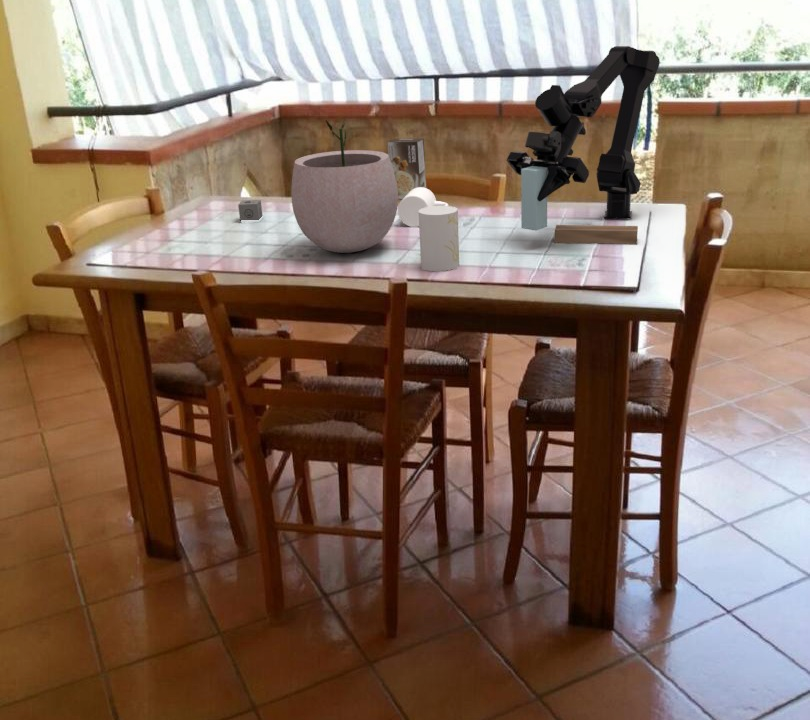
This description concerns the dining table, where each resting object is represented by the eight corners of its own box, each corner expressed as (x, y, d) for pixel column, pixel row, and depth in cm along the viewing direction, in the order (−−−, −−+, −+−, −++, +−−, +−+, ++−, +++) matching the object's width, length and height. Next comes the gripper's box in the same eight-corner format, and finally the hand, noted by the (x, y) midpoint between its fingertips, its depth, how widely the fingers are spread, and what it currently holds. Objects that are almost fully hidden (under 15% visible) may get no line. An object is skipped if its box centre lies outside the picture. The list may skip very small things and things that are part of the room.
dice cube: (244, 218, 236) (242, 200, 234) (262, 218, 236) (260, 199, 234) (240, 223, 231) (238, 204, 229) (259, 222, 231) (257, 203, 229)
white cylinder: (456, 271, 182) (454, 214, 177) (417, 271, 183) (415, 214, 179) (461, 260, 189) (460, 205, 184) (424, 260, 191) (422, 205, 186)
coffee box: (427, 195, 251) (425, 137, 245) (421, 200, 246) (418, 141, 239) (397, 194, 254) (394, 137, 248) (390, 199, 248) (386, 141, 242)
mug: (398, 227, 219) (396, 195, 216) (406, 217, 228) (405, 187, 225) (446, 227, 216) (445, 195, 213) (452, 217, 225) (451, 186, 222)
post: (532, 224, 196) (532, 165, 191) (547, 226, 193) (547, 167, 188) (521, 228, 194) (521, 169, 188) (536, 230, 191) (536, 170, 186)
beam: (556, 237, 202) (556, 224, 201) (637, 238, 197) (637, 225, 196) (554, 242, 198) (554, 229, 197) (636, 244, 193) (637, 231, 192)
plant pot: (412, 236, 209) (406, 107, 198) (383, 266, 188) (374, 122, 176) (318, 234, 216) (307, 109, 204) (280, 262, 195) (265, 124, 183)
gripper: (511, 114, 193) (479, 173, 190) (582, 118, 181) (550, 182, 178) (533, 144, 201) (503, 201, 198) (602, 151, 189) (572, 212, 186)
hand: (530, 198), depth 190 cm, fingers closed on post, 4 cm apart
